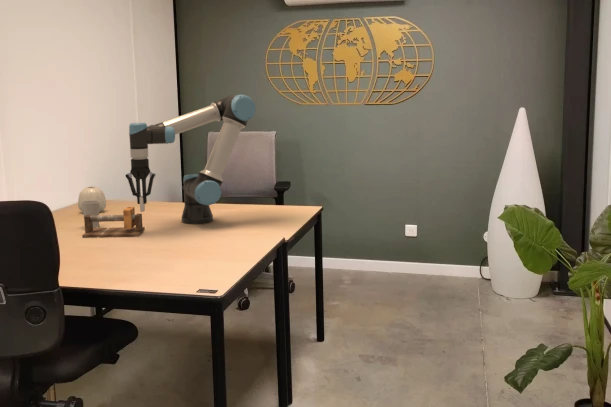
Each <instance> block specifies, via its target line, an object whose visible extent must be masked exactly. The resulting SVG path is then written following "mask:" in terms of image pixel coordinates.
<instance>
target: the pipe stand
mask: <svg viewBox="0 0 611 407" xmlns="http://www.w3.org/2000/svg"><path fill="white" fill-rule="evenodd" d="M142 214H143V213H135V215H132V221H135V226H134V227H133V228H132V229H124V227H123V226H121V227H120V226H119V227H98V228H93V222H99V223H100V222H102V223H103V222H104V223H105V222H106V223H107V222H124V215H123V214H111V215H110V214H105V215H104V214H103V215H101V214H99V215H93V216H92V215H86V216H85V217H84V216H83V220H84V221H83V222H84V231H85V232H84V233H83V234H82V238H83V239H85V238H86V239H89V238H91V239H92V238H93V239H95V238H97V237H99V238H131V237H132V238H133V237H134V238H135V237H139V236H140V235H142V234H143V232H144V231H145V230H146V228H145V226H144V225H143V215H142Z"/></svg>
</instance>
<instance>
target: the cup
mask: <svg viewBox="0 0 611 407" xmlns="http://www.w3.org/2000/svg"><path fill="white" fill-rule="evenodd" d="M81 204H82V209H83V212H82V214H83V218H84V217H85V216H86V215H92V216H93V215H100V212H99V201H96V200H91V201H83V202H81ZM97 227H98V228H100V222H93V228H97Z"/></svg>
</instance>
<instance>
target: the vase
mask: <svg viewBox="0 0 611 407" xmlns="http://www.w3.org/2000/svg"><path fill="white" fill-rule="evenodd" d="M91 200H96V201H99V213H101V212H103V211H104V209H106V208H107V200H106V196H105V193H104V191H103V190H101V189H100V188H99V187H97V186H87V187H84V188H83V189H81V191H80V192H79V194H78V201H77V206H78V209H79V210H80V211H81V212H82V213H83V209H82V204H81V202H83V201H91Z"/></svg>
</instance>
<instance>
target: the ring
mask: <svg viewBox="0 0 611 407" xmlns="http://www.w3.org/2000/svg"><path fill="white" fill-rule="evenodd" d="M122 215H124V221H123V226H124V229H132V228H133V227H136V226H135V221H132V215H136V213H135V206H126V208H124V209H123V212H122Z"/></svg>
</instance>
